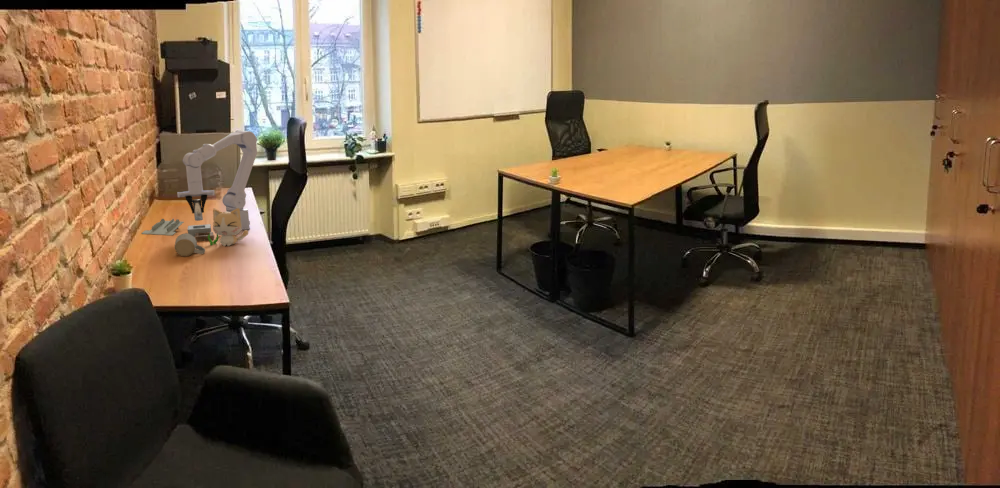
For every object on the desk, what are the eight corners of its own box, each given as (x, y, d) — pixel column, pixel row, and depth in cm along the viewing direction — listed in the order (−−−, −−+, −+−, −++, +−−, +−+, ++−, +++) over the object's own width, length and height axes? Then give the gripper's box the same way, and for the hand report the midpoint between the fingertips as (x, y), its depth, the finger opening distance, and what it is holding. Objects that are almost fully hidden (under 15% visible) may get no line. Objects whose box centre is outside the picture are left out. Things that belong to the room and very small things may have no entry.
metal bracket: (157, 215, 313) (188, 217, 311) (161, 227, 316) (191, 228, 314) (138, 231, 301) (169, 233, 298) (142, 243, 304) (173, 244, 301)
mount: (213, 236, 299) (213, 231, 299) (213, 239, 293) (212, 235, 293) (195, 237, 297) (195, 233, 297) (195, 241, 291) (194, 236, 290)
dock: (211, 231, 307) (210, 224, 306) (211, 235, 300) (210, 228, 299) (189, 233, 304) (188, 225, 303) (188, 237, 297) (187, 229, 296)
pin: (204, 218, 301) (202, 199, 299) (201, 220, 298) (199, 200, 296) (196, 218, 301) (194, 199, 299) (193, 220, 298) (191, 200, 296)
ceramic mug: (175, 258, 266) (173, 238, 264) (176, 252, 273) (174, 233, 271) (205, 256, 269) (203, 236, 267) (205, 251, 277) (204, 232, 275)
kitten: (204, 247, 281) (201, 211, 277) (212, 241, 290) (209, 206, 287) (243, 247, 282) (239, 210, 278) (249, 241, 292) (246, 206, 288)
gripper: (213, 178, 302) (216, 209, 305) (176, 180, 297) (180, 212, 300) (213, 181, 296) (216, 212, 299) (175, 183, 290) (179, 215, 294)
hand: (198, 212), depth 299 cm, fingers closed on pin, 3 cm apart
